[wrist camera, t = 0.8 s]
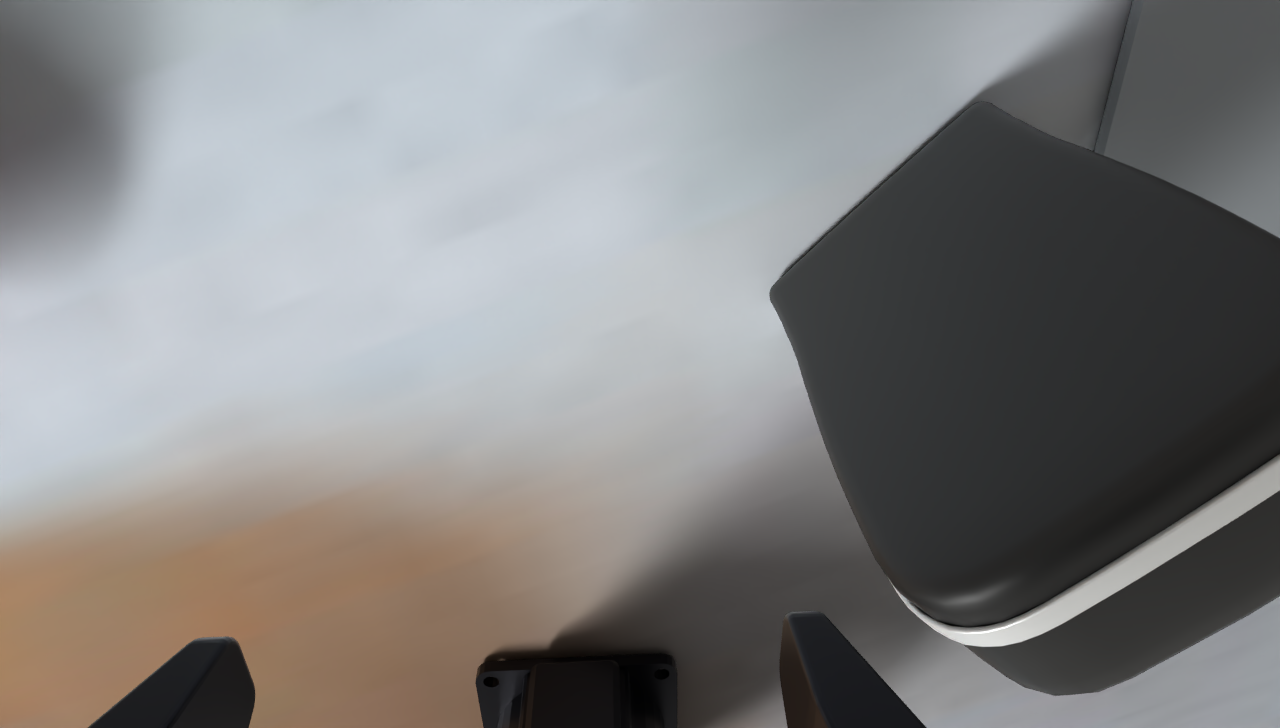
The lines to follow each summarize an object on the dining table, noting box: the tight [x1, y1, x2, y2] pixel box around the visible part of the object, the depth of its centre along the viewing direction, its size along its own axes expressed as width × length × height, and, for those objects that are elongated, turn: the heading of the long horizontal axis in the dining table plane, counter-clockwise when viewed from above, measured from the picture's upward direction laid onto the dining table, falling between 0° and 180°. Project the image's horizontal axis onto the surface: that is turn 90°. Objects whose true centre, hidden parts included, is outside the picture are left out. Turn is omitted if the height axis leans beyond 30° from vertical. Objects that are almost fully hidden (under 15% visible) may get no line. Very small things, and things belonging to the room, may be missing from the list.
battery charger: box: [770, 102, 1280, 696], centre depth 15 cm, size 7×4×11 cm, turn 136°
